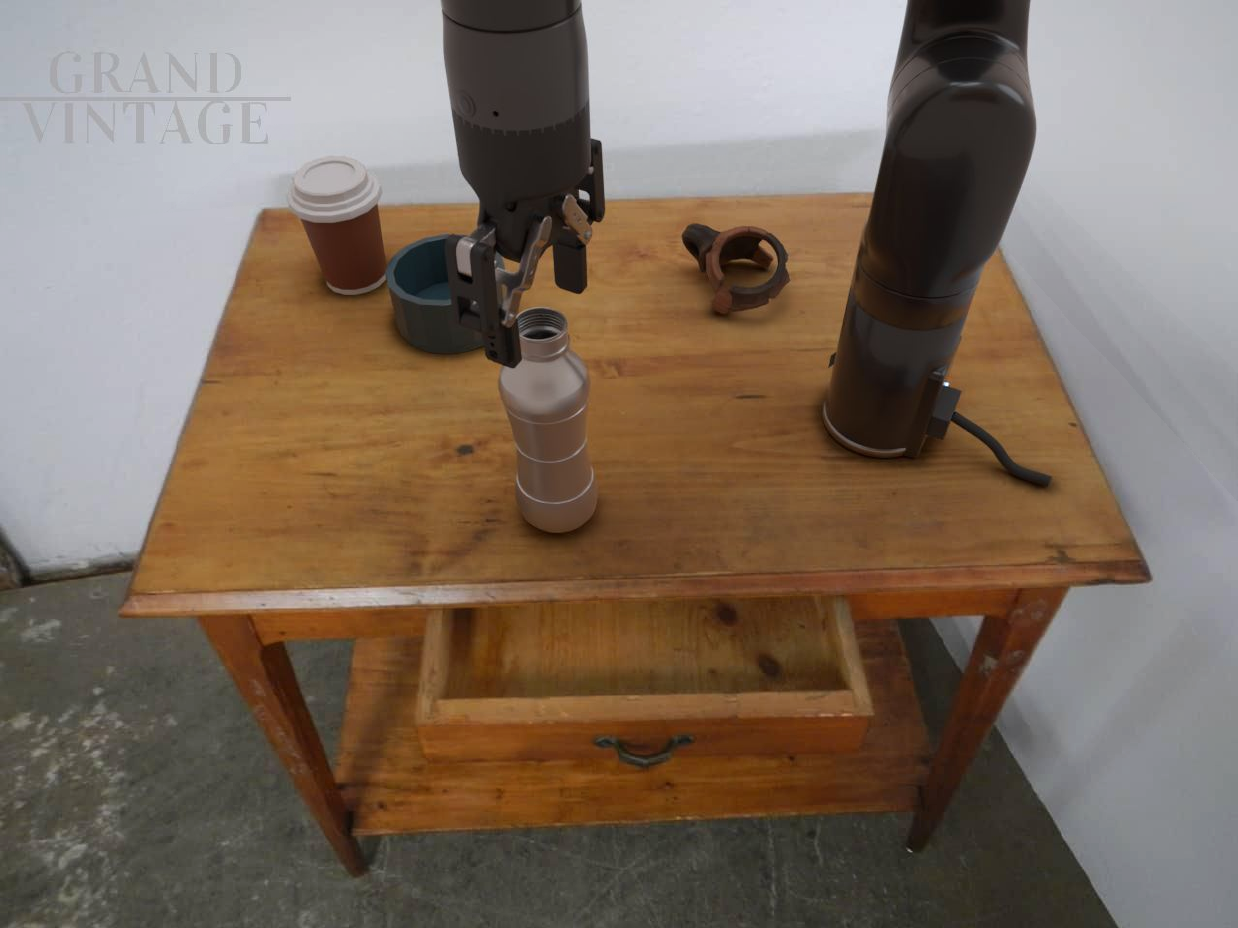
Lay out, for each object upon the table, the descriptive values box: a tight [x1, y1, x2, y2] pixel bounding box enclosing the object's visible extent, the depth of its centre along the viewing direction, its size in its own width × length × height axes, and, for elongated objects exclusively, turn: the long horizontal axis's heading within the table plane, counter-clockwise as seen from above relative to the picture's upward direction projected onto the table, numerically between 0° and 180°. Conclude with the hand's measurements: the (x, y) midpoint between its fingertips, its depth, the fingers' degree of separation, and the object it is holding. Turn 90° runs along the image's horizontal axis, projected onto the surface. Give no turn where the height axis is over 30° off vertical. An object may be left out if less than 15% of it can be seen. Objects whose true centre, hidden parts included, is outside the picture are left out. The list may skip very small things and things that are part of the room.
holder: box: [385, 233, 506, 355], centre depth 92 cm, size 11×11×6 cm
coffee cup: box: [285, 155, 388, 296], centre depth 94 cm, size 9×9×12 cm
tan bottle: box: [497, 306, 599, 534], centre depth 70 cm, size 6×7×20 cm
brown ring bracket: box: [681, 222, 791, 315], centre depth 95 cm, size 12×10×8 cm
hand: (539, 323), depth 62 cm, fingers open, 8 cm apart
